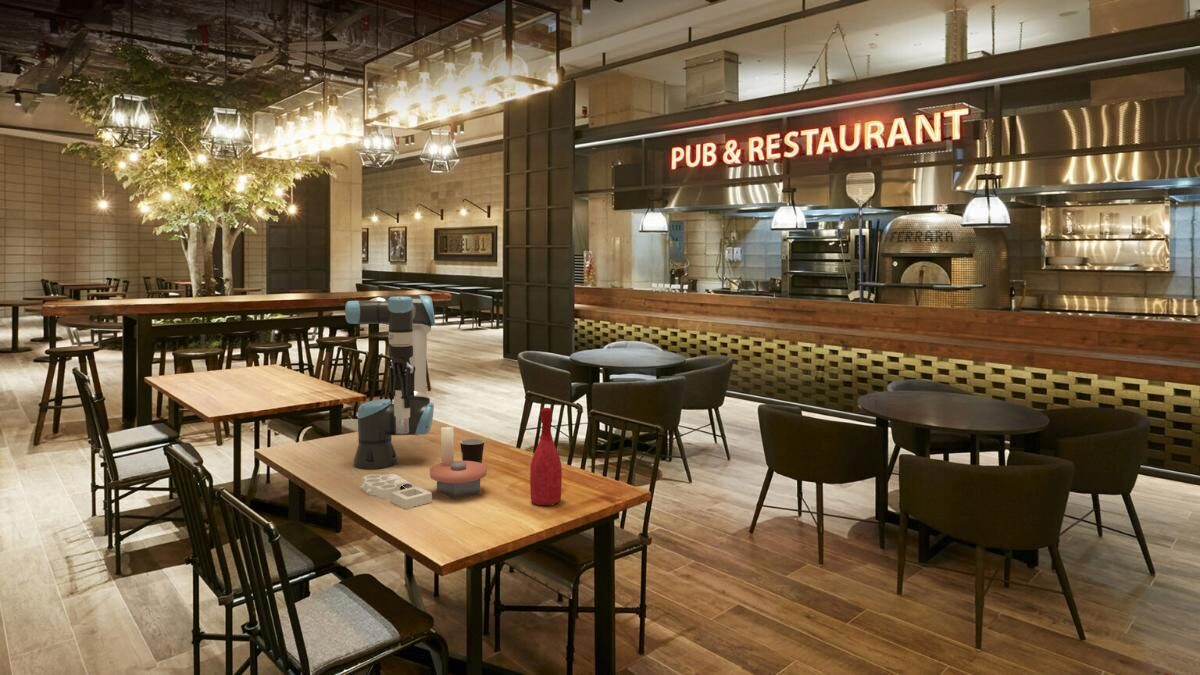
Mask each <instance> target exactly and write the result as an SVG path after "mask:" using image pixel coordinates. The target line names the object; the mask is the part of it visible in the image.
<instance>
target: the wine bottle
mask: <svg viewBox="0 0 1200 675" xmlns="http://www.w3.org/2000/svg"><path fill="white" fill-rule="evenodd" d="M552 414H553V412H552V408H550V407H544V408H541V418H540V423H541V424H542V425H541V432H540V437H539V442H538V444H537V447H536V448H535V451H534V454H533V456H532V459H531V462H530V472H529V475H530V476H529V481H530V482H529V486H530V488H529V489H530V491H529V492H530V500H531V502H532V503H533V504H534V505H537V506H541V505H549V506H553V505H552V504H554V505H556V504H555V503H557V504H558V503H560V502H561V499H562V478H563V477H562V476H563V474H562V469H563V468H562V467H563V466H562V461H561V458H560V455H559V452H558V450H557V447H556V445H555V443H554V438H553V436H552V430H551V423H553V416H552Z"/></svg>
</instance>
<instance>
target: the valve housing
mask: <svg viewBox="0 0 1200 675" xmlns="http://www.w3.org/2000/svg"><path fill="white" fill-rule="evenodd" d="M436 493H438V494H439V495H440V494H441V495H442V494H443V495H442V496H445V497H448V498H450V499H452V500H458V499H463V498H465V497H469V496H473V495H476V494H477V495H478V494H481V479H479V480H476V481H471V482H465V483H444V482H439V481H436Z"/></svg>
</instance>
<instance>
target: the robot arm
mask: <svg viewBox="0 0 1200 675" xmlns="http://www.w3.org/2000/svg"><path fill="white" fill-rule="evenodd" d="M344 309H345V310H344V313H345V314H344V315H345V320H346V322H347V323H348V324H355V325H358V324H359V325H363V324H364V325H365V324H367V325H368V324H371V325H372V324H374V325H375V324H380V325H381V324H382V325H387V326H388V337H387V338H388V344H389V346H388V357H389V358H390V359H391V358H392V361H391V362H388V363H387V368H388V378H389V380H388V381H389V383H388V384H389V393H390V394H392V396H393V403H392V401H391V399H389V398H387V399H386V398H382V399H380V398H379V399H373V400H370V401H366V402H363V403H361V404H360V405H359V406H358V408H357V416H356V417H357V429H358V430H357V431H358V432H357V434H358V441H357V442H358V445H357V447H356V451H355V454H354V457H353V466H354V467H355V468H358V469H363V470H377V469H378V468H379V469H384V468H389V466H390V467H392V466H394V465H396V464H397V462H398V456H397V454H396V449H395V448H394V445H393V442H392V436H419V435H427V434H429V433H430V432H431V429H432V424H433V418H434V409H435V408H434V407H435V406H434V405H435V404H434V403H433V402H431V399H430V397H429V396H428V395H427V352H428V351H427V348H428V347H427V346H428V334H429V333H430V332H431V331H432V326H435V325H436V319H435V311H434V304H433V299H432V297H431V296H430V295H421V294H416V295H415V294H399V295H398V294H397V295H396V294H387V295H383V296H378V297H374V298H371V299H370V300H349V301H347V302H346V303H345V308H344ZM396 389H402V396H403V397H401V418H402V419H403V418H409V433H406V434H397V433H396V405H395V390H396ZM379 469H378V470H379Z"/></svg>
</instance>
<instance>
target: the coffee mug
mask: <svg viewBox="0 0 1200 675" xmlns="http://www.w3.org/2000/svg"><path fill="white" fill-rule="evenodd" d="M459 442H460V443H459V444H460V452H461V461H474V462H479V463H482V464H483V456H484V449H485V448H484V447H485V439H482V438H465V439H461V440H460V441H459Z"/></svg>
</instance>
